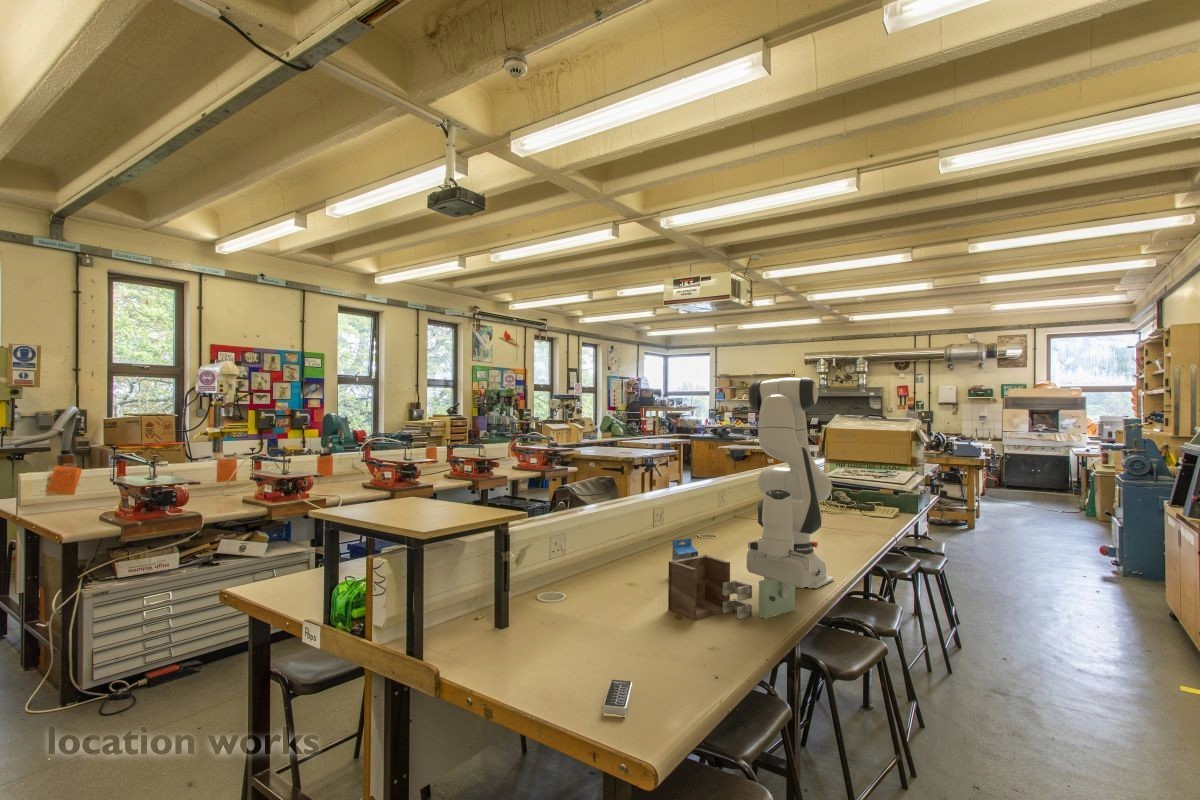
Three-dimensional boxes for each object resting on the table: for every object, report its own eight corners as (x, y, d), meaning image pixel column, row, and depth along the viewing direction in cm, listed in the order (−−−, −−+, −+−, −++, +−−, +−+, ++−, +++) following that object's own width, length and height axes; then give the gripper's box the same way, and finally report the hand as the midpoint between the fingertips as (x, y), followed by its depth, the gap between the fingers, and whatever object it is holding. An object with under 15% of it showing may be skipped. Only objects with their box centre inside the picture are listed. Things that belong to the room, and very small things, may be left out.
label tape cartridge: (678, 578, 198) (678, 542, 198) (671, 575, 201) (671, 540, 202) (698, 574, 202) (698, 540, 203) (691, 572, 206) (691, 538, 206)
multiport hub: (602, 717, 107) (602, 705, 107) (611, 690, 118) (611, 678, 118) (625, 720, 106) (626, 707, 106) (632, 692, 117) (632, 680, 117)
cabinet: (709, 599, 175) (710, 554, 176) (751, 615, 162) (752, 566, 162) (668, 609, 166) (668, 561, 166) (709, 627, 152) (709, 575, 152)
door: (787, 608, 169) (788, 574, 169) (798, 611, 166) (798, 577, 166) (758, 616, 162) (758, 581, 162) (769, 620, 159) (769, 584, 159)
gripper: (815, 553, 158) (815, 603, 158) (757, 539, 175) (757, 584, 174) (801, 556, 154) (801, 607, 154) (743, 541, 171) (743, 588, 171)
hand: (777, 595), depth 164 cm, fingers open, 3 cm apart
